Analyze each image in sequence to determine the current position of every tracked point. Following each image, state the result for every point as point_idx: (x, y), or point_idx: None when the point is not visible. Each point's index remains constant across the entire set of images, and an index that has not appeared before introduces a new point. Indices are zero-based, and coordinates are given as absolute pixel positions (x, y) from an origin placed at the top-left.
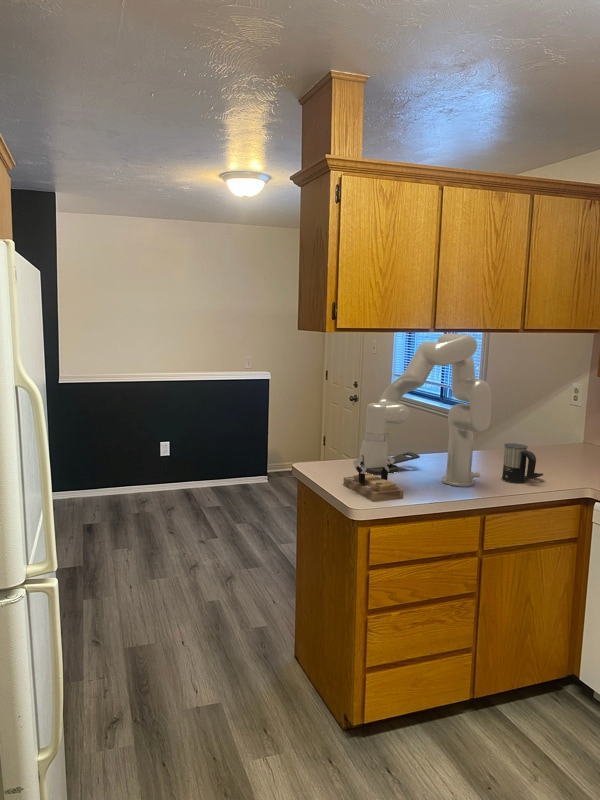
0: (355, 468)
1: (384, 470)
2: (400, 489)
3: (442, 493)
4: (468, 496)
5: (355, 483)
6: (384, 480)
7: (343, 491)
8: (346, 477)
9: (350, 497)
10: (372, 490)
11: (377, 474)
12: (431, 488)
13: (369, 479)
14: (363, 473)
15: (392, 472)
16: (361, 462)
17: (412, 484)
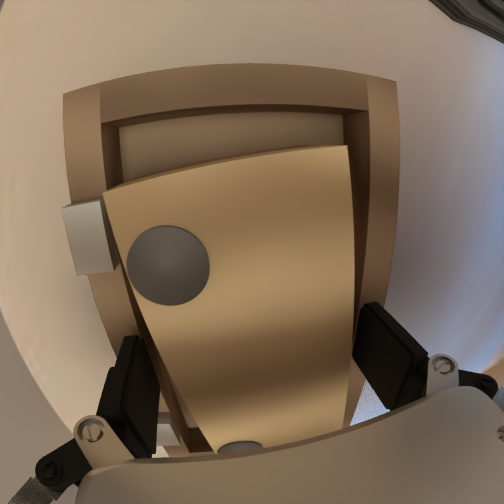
0: (46, 461)
1: (406, 397)
2: (342, 427)
3: (476, 340)
4: (487, 360)
5: (102, 313)
6: (329, 401)
7: (47, 264)
8: (86, 95)
9: (74, 368)
10: (182, 440)
11: (444, 8)
12: (497, 285)
13: (220, 381)
14: (139, 451)
15: (496, 38)
16: (119, 497)
17: (494, 218)
